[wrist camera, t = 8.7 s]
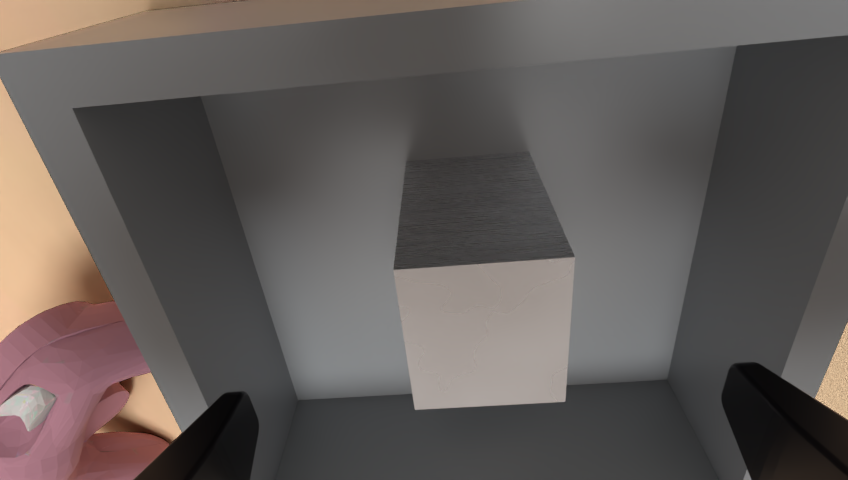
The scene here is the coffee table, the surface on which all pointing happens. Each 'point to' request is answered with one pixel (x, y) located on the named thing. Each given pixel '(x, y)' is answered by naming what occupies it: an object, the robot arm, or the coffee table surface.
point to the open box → (445, 138)
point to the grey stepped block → (482, 283)
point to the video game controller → (70, 397)
